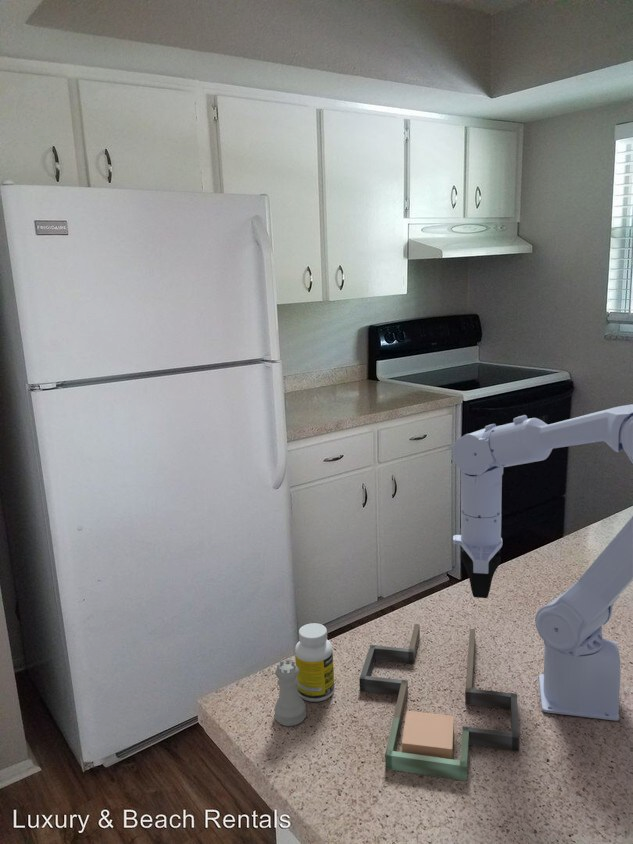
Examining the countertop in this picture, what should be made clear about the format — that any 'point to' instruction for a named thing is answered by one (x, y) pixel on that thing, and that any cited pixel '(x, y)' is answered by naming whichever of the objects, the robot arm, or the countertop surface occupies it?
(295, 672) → the rook chess piece
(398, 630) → the countertop surface
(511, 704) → the box
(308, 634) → the supplement bottle
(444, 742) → the light orange-tan block
